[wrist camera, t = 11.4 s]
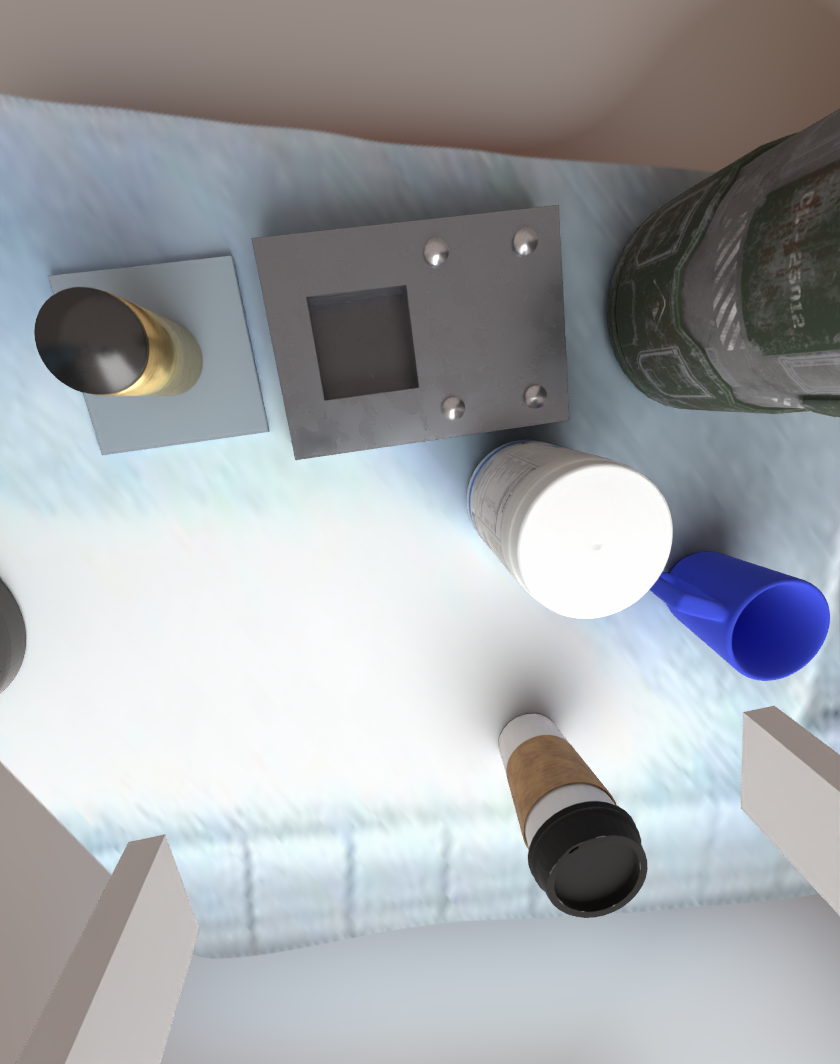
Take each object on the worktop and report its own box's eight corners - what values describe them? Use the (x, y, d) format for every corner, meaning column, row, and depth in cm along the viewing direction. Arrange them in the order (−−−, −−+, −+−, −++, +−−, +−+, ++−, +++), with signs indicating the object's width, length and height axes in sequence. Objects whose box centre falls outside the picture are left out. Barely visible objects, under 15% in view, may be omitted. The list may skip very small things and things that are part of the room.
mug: (635, 519, 45) (712, 553, 35) (749, 553, 47) (850, 594, 38) (601, 604, 47) (664, 658, 37) (712, 633, 49) (799, 691, 40)
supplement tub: (593, 465, 43) (710, 500, 29) (543, 565, 45) (630, 644, 31) (491, 418, 41) (564, 432, 27) (443, 525, 43) (488, 591, 29)
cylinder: (134, 399, 37) (50, 400, 26) (116, 321, 35) (19, 290, 25) (209, 392, 37) (156, 390, 27) (194, 315, 36) (132, 281, 26)
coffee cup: (541, 684, 48) (622, 809, 34) (585, 743, 51) (678, 883, 36) (468, 735, 49) (517, 879, 34) (515, 791, 51) (579, 948, 37)
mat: (105, 454, 38) (101, 455, 38) (53, 277, 35) (48, 275, 34) (269, 431, 39) (268, 431, 39) (233, 257, 36) (231, 255, 35)
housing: (300, 453, 40) (294, 460, 36) (262, 254, 36) (250, 236, 32) (549, 417, 42) (571, 420, 37) (537, 223, 38) (561, 202, 34)
